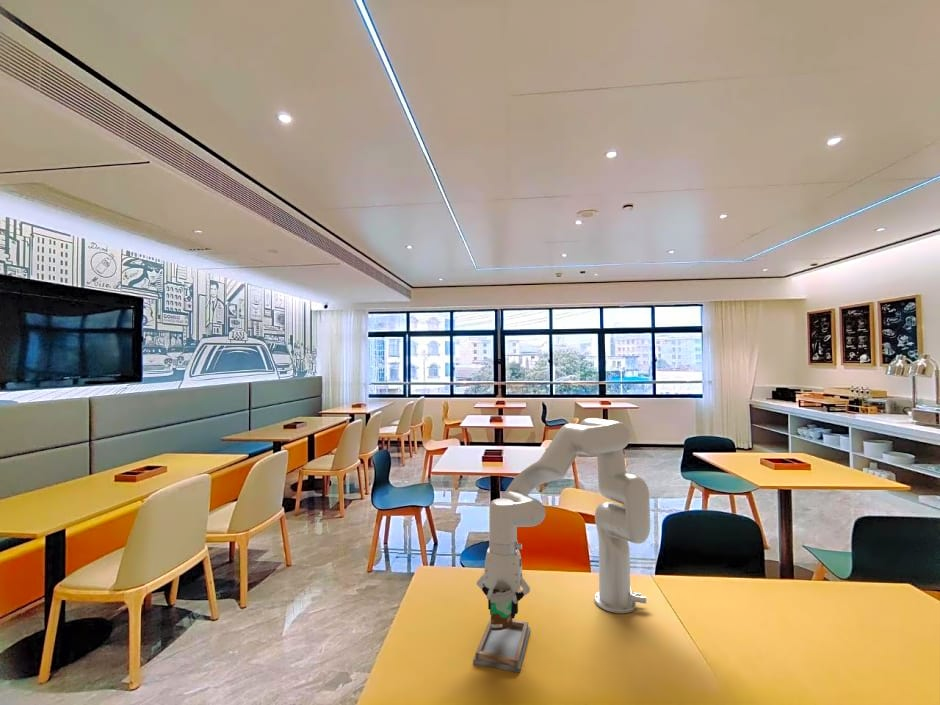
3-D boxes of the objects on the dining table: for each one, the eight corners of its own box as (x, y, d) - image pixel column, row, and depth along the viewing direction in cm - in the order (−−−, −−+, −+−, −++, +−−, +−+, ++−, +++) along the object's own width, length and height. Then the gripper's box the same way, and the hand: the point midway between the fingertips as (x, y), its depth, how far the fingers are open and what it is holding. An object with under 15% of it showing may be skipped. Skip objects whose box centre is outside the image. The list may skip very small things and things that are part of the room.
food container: (513, 637, 110) (513, 597, 110) (490, 633, 111) (490, 594, 111) (518, 610, 122) (518, 574, 122) (497, 607, 123) (497, 572, 123)
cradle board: (530, 630, 123) (530, 621, 123) (519, 672, 106) (519, 662, 106) (489, 623, 127) (489, 614, 127) (473, 663, 109) (473, 653, 109)
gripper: (536, 544, 119) (536, 611, 118) (476, 537, 123) (476, 602, 123) (532, 555, 111) (532, 627, 111) (469, 547, 116) (469, 616, 115)
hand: (503, 613), depth 117 cm, fingers closed on food container, 5 cm apart
